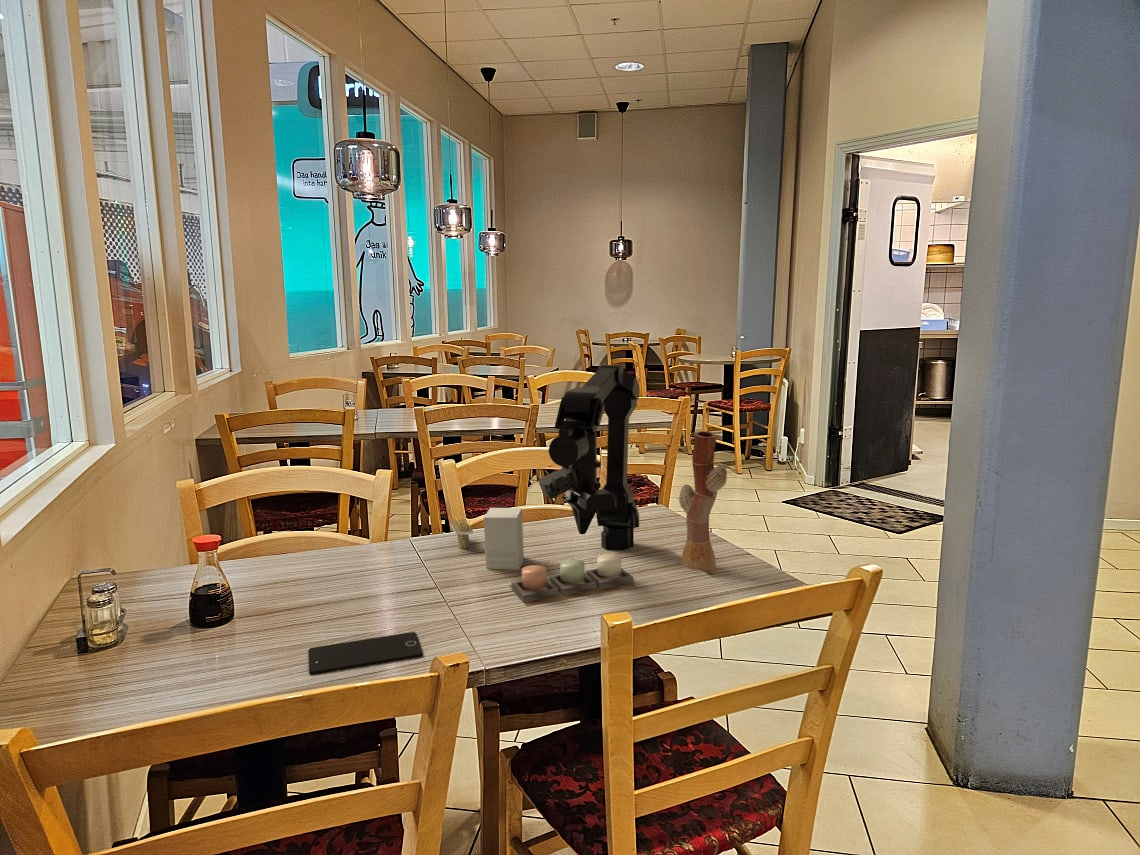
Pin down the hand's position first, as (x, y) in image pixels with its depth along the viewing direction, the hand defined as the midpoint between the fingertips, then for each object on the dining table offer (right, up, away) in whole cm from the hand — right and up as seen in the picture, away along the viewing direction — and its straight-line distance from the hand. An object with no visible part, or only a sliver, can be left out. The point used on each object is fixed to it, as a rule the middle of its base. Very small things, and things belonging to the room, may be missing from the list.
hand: (582, 533), depth 153 cm
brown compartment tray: (-2, -12, +2) cm, 12 cm away
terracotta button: (-9, -10, -2) cm, 13 cm away
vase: (+26, -10, +13) cm, 30 cm away
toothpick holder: (-28, -7, +30) cm, 42 cm away
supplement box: (-16, -10, +15) cm, 25 cm away
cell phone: (-37, -18, -23) cm, 46 cm away
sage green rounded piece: (-2, -9, +1) cm, 9 cm away
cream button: (+6, -8, +4) cm, 11 cm away
